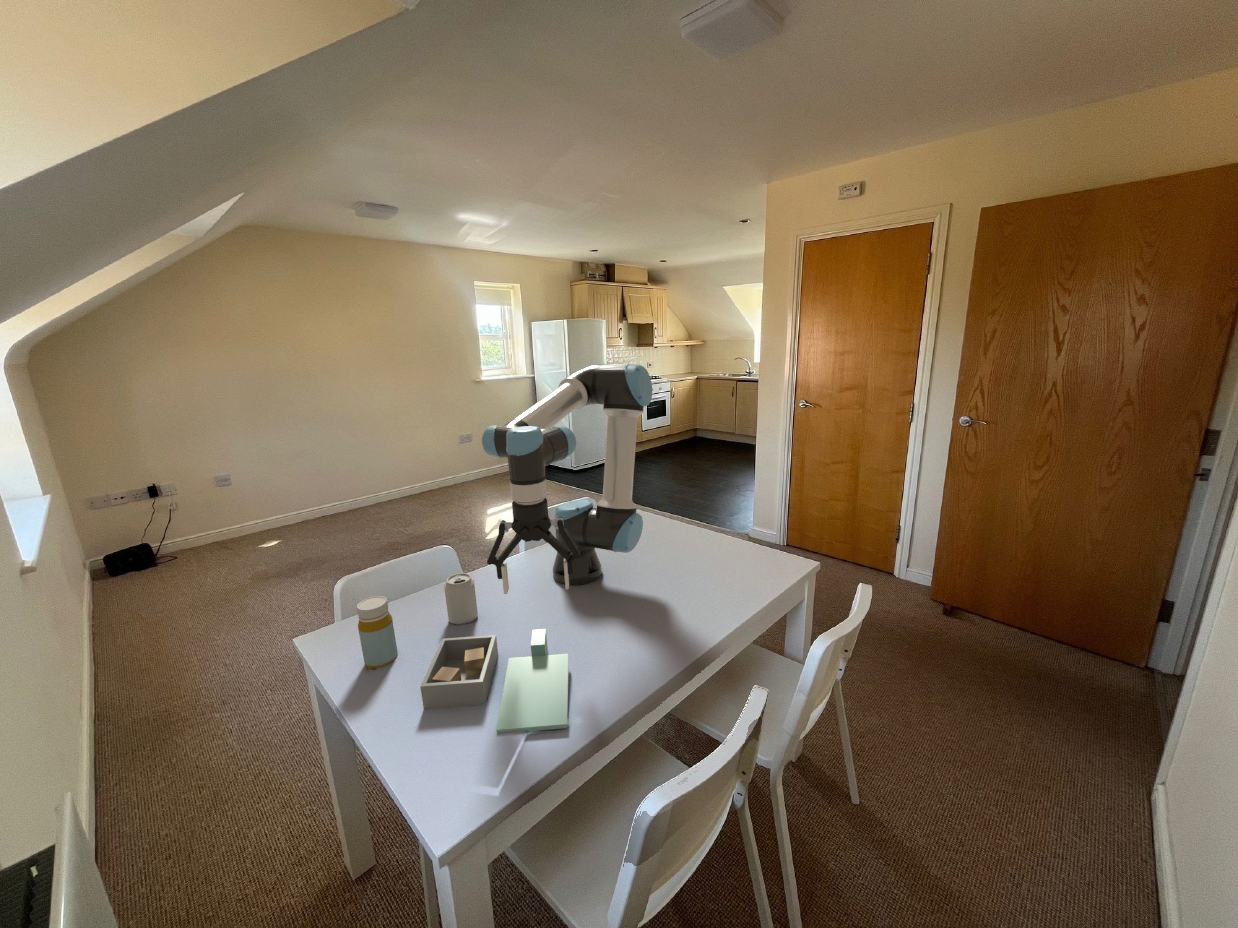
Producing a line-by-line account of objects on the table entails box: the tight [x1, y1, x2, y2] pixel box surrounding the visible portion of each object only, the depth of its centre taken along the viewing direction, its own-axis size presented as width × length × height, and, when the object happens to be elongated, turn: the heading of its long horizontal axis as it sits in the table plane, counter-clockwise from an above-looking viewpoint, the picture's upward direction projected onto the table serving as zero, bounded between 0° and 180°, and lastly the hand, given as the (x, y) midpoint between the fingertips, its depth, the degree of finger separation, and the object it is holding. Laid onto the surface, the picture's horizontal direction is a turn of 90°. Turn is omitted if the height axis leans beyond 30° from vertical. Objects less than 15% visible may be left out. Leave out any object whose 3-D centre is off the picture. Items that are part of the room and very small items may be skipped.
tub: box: [419, 634, 499, 710], centre depth 105 cm, size 12×16×6 cm
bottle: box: [356, 595, 399, 671], centre depth 112 cm, size 7×7×15 cm
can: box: [443, 572, 479, 626], centre depth 129 cm, size 8×8×12 cm
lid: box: [495, 628, 570, 734], centre depth 102 cm, size 13×23×7 cm, turn 4°
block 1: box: [432, 667, 461, 683], centre depth 102 cm, size 4×4×4 cm
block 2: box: [464, 647, 485, 678], centre depth 108 cm, size 4×4×4 cm
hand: (537, 588), depth 111 cm, fingers open, 13 cm apart
